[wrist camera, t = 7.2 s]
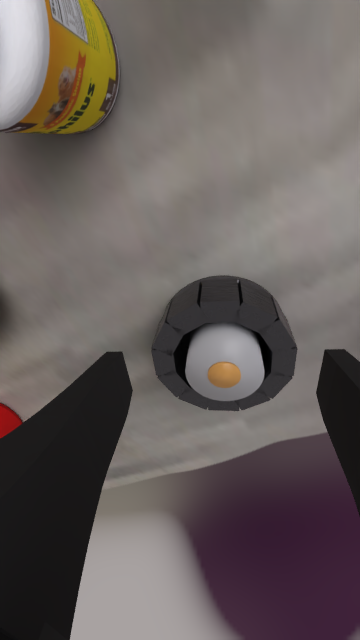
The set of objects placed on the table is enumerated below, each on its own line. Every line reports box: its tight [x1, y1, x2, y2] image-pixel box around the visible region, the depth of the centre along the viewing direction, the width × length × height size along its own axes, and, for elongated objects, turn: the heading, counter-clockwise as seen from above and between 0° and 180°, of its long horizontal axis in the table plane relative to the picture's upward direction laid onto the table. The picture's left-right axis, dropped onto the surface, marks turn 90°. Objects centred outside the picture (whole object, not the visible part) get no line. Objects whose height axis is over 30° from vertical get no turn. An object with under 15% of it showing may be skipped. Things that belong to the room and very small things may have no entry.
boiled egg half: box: [185, 322, 264, 401], centre depth 19 cm, size 5×5×4 cm
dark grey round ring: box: [151, 276, 297, 411], centre depth 20 cm, size 9×9×4 cm
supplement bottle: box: [0, 0, 120, 134], centre depth 10 cm, size 6×6×10 cm
